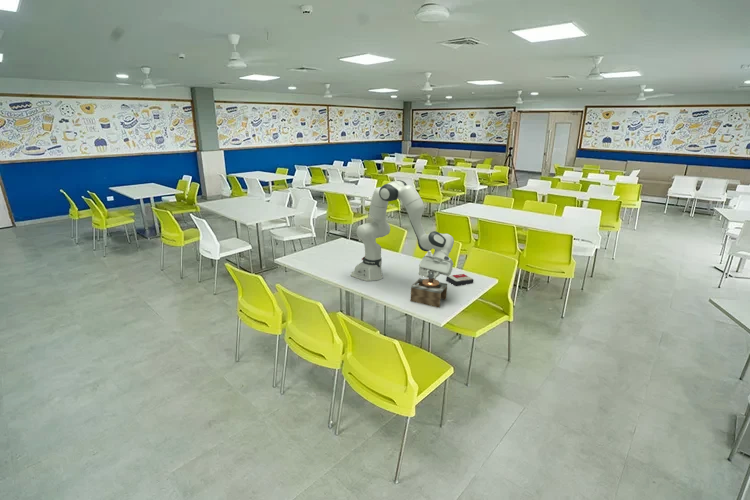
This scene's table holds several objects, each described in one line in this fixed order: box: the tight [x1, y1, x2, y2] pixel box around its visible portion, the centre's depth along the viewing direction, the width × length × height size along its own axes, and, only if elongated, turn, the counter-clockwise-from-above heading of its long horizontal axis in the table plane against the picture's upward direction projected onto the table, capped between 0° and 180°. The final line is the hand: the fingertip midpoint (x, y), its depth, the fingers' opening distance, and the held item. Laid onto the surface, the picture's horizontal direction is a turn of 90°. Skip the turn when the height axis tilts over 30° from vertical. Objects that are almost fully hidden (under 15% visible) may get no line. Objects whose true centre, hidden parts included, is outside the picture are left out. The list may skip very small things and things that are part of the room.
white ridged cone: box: [418, 250, 436, 278], centre depth 272 cm, size 13×13×18 cm
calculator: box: [445, 273, 475, 287], centre depth 261 cm, size 11×4×15 cm
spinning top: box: [422, 272, 440, 288], centre depth 228 cm, size 10×10×12 cm
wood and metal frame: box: [410, 277, 448, 308], centre depth 231 cm, size 18×14×10 cm
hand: (430, 278), depth 227 cm, fingers closed on spinning top, 3 cm apart
